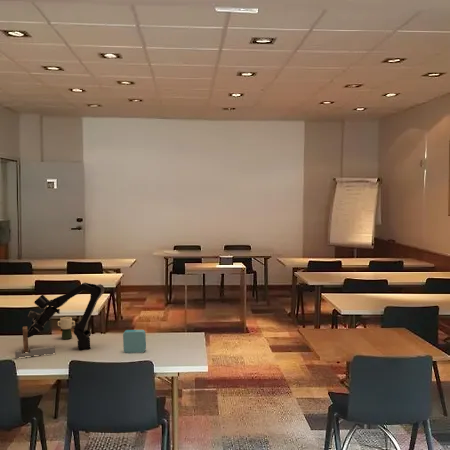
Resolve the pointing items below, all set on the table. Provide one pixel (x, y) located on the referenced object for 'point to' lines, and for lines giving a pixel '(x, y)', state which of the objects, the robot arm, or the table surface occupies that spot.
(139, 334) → the teal square block
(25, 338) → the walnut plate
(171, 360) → the table surface
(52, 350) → the grey crossbar
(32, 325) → the robot arm
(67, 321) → the character mug
